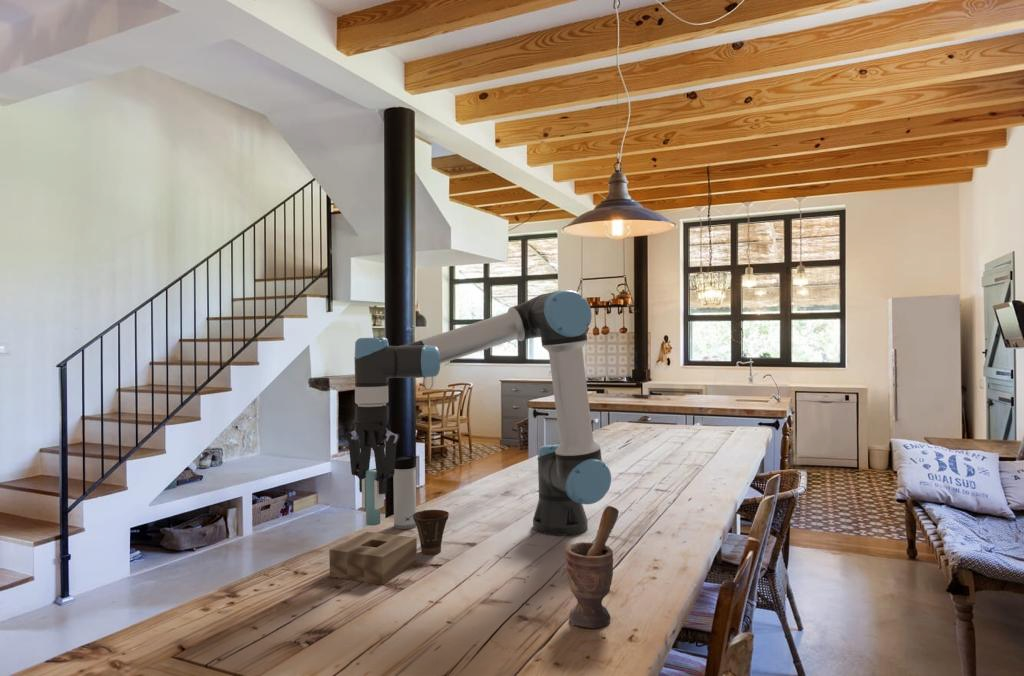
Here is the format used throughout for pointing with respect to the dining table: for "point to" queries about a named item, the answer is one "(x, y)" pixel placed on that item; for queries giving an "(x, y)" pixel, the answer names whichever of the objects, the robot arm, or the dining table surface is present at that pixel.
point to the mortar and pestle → (592, 574)
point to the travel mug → (404, 492)
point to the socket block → (373, 557)
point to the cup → (430, 529)
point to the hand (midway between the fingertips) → (373, 507)
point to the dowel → (371, 499)
